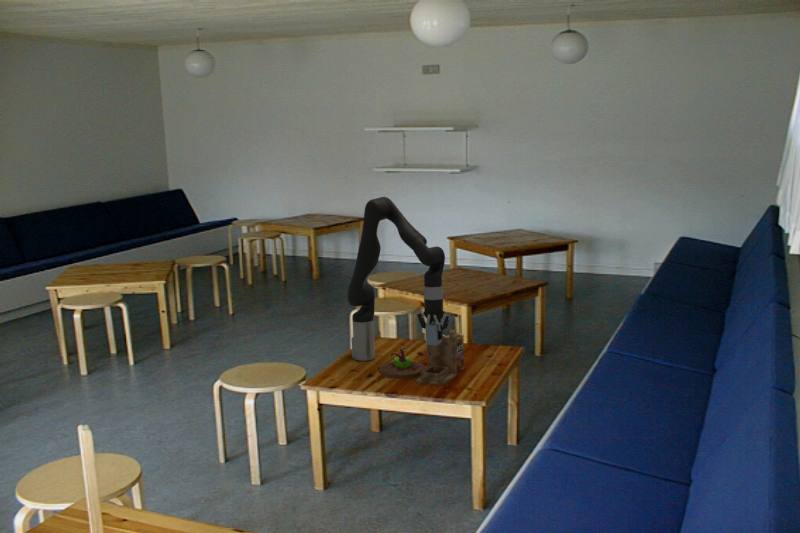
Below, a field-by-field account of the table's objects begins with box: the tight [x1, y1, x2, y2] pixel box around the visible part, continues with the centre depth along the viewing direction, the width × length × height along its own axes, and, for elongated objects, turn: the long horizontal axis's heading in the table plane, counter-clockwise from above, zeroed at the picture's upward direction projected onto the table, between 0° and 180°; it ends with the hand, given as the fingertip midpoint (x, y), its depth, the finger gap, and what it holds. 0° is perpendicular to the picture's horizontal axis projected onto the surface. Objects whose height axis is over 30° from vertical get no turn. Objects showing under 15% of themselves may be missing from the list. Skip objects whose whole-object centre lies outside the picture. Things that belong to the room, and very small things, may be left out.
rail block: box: [426, 322, 442, 346], centre depth 301 cm, size 4×7×8 cm, turn 155°
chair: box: [415, 329, 458, 386], centre depth 303 cm, size 12×14×19 cm
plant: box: [377, 347, 426, 380], centre depth 314 cm, size 20×20×11 cm
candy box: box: [445, 332, 465, 372], centre depth 314 cm, size 9×4×15 cm, turn 123°
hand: (434, 338), depth 301 cm, fingers closed on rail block, 4 cm apart
